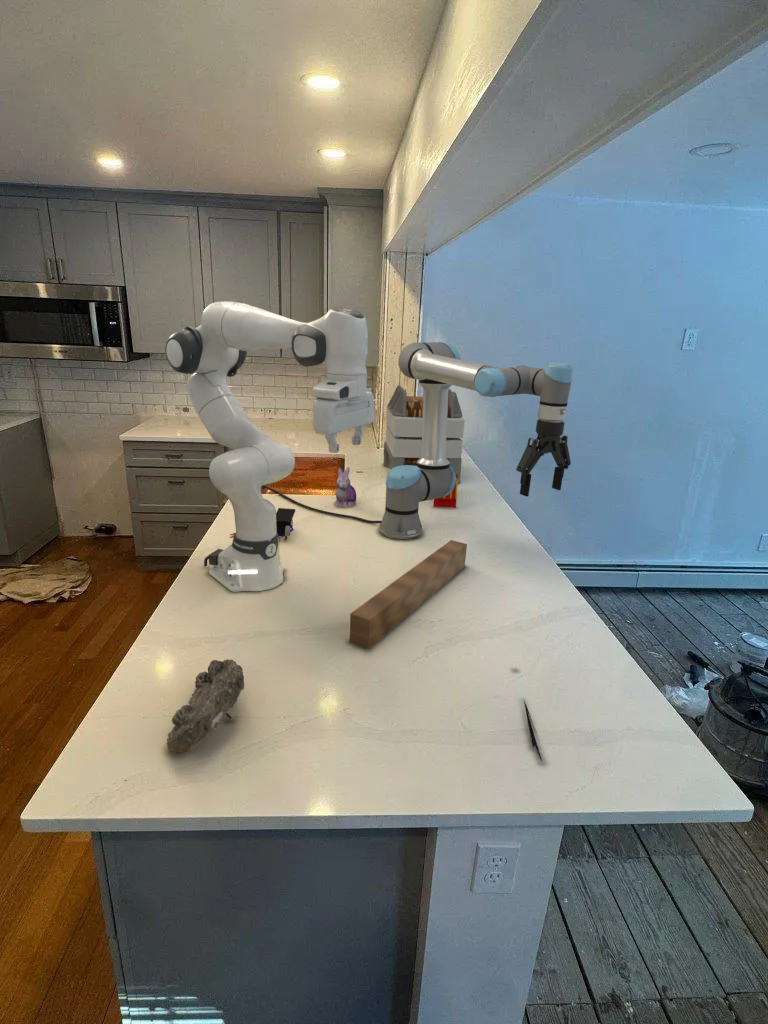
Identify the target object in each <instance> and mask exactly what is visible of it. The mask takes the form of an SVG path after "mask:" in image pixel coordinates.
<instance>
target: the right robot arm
mask: <svg viewBox="0 0 768 1024" xmlns="http://www.w3.org/2000/svg"><path fill="white" fill-rule="evenodd" d="M398 367H399V370H400V372H401V373H402V374H403V376H405V377H407V378H409V379H411V380H412V379H413V380H417V381H418V384H419V385H420V386H421V388H422V397H423V419H422V455H421V458H420V459H419V460H418V461H417V466H413V465H402V466H397V467H394V468H392V469H391V470H390V469H389V470H388V472H387V475H386V479H385V504H384V505H385V507H384V508H385V509H384V513H383V515H382V519H381V520H370V519H365V518H362V517H359V516H354V515H348V514H344V513H343V514H342V513H336V512H332V511H327V510H323V509H319V508H315V507H312V506H308V505H306V504H304V503H301V502H299V501H297V500H295V499H293V498H291V497H289V496H287V495H286V494H283V493H282V492H279V491H278V490H275V489H274V488H272V487H270V486H267V485H263V486H262V487H261V489H266V490H268V491H270V492H272V493H275V494H277V495H279V496H281V497H282V498H284V499H286V500H287V501H290V502H292V503H293V504H295V505H297V506H299V507H302V508H304V509H307V510H310V511H312V512H317V513H321V514H325V515H328V516H333V517H339V518H345V519H352V520H357V521H359V522H364V523H367V524H379V526H378V533H379V534H380V535H381V536H382V537H385V538H387V539H389V540H395V541H410V540H415V539H418V538H420V537H421V536H422V535H423V525H422V524H421V518H420V515H419V507H420V506H419V505H420V503H421V502H426V501H430V500H434V499H438V498H441V497H443V496H447V495H448V494H450V493H451V492H452V490H453V489H454V486H455V482H456V476H455V473H454V472H453V471H454V470H453V468H452V467H451V466H449V465H450V462H449V461H448V460H447V459H446V434H447V410H448V389H450V388H451V386H455V387H458V388H463V389H466V390H471V391H475V392H477V393H478V395H480V396H482V397H486V398H487V397H488V398H496V397H504V396H514V395H515V396H516V395H517V396H518V395H530V396H537V397H539V403H538V411H537V418H538V419H537V420H536V426H535V433H536V434H537V437H536V438H532V437H529V438H528V439H527V443H526V447H525V449H524V451H523V454H522V456H521V457H520V460H519V462H518V463H517V466H516V469H515V470H516V471H517V472H519V473H520V481H519V482H520V489H519V495H522V496H524V497H526V498H527V497H529V495H530V488H531V481H532V475H533V474H532V473H531V472H532V471H533V469H534V468H535V466H536V464H537V463H538V461H539V460H540V459H541V458H542V457H543V456H544V455H545V454H546V455H547V454H549V453H550V454H551V456H552V457H553V460H554V462H555V464H556V466H555V467H554V469H553V470H554V471H553V478H552V484H551V489H553V490H556V491H561V489H562V484H563V479H564V475H565V470H568V469H569V467H570V466H571V465H572V462H571V456H570V451H569V446H568V439H569V438H568V435H566V434H564V430H565V422H564V421H565V420H566V416H567V408H568V403H569V402H568V401H569V397H570V392H571V391H570V390H571V385H572V381H573V380H572V378H573V366H572V364H569V363H564V362H546V363H545V364H544V367H543V368H539V367H533V366H528V365H513V366H511V367H497V366H493V365H488V364H484V363H483V364H482V363H478V362H473V361H469V360H464V359H462V358H461V354H460V352H459V350H458V349H457V348H456V346H454V345H453V344H452V343H450V342H449V343H448V342H441V341H436V342H420V341H419V342H418V341H417V342H416V341H415V342H412V343H409V344H408V345H406V346H405V347H403V349H401V350H400V353H399V356H398Z"/></svg>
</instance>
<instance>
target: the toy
mask: <svg viewBox="0 0 768 1024" xmlns="http://www.w3.org/2000/svg"><path fill="white" fill-rule="evenodd" d="M455 476H456V482H455V486H454V489H453V490H452V492H451V493H450V494H448V495H447V496H443V497H441V498H438V499H433V508H452V509H453V508H454V509H455V508H457V499H458V486H459V485H458V484H459V483H458V475H457V474H455Z"/></svg>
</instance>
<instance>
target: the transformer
mask: <svg viewBox="0 0 768 1024" xmlns="http://www.w3.org/2000/svg"><path fill="white" fill-rule="evenodd" d="M407 394H408V393H407V390H406V389H404V388H403V387H402V385H399V384H398V385H397V386H396V388H395V390H394V392H393V394H392V395H391V398H390V400H389V402H388V404H387V405H386V413H385V414H386V415H385V423H386V428H385V438H384V442H383V466H384V467H388V468H389V470H391V469H392V468H394V467H397V466H402V465H404V466H406V465H413V466H417V461H418V460H419V459H420V458H421V455H422V419H423V396H415V395H414V396H413V395H412V396H411V395H407ZM464 429H465V419H464V418H463V411H462V408H461V405H460V402H459V398H458V395H457V392H455V391H453V390H452V389H451V388H449V389H448V410H447V434H446V459H447V460H448V461H449V462H450V465H449V466H451V467H452V468H453V470H454V471H453V472H454V473H455V474H457V475H458V484H459V483H461V472H462V461H463V460H462V453H463V442H464V441H463V440H462V439H463V438H464V431H465V430H464Z"/></svg>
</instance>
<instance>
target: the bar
mask: <svg viewBox="0 0 768 1024" xmlns="http://www.w3.org/2000/svg"><path fill="white" fill-rule="evenodd" d="M467 548H468V544H467V543H465V542H460V541H456V540H453V539H450V540H449V541H447V542H446V543H445V544H443V545H442V546H441V547H440V548H438V549H437V550H435V551H434V552H432V553H431V554H429V556H427V557H426V558H424V559H423V560H422V561H420V562H419V563H418V564H416V565H415V566H413V567H412V568H411V569H409V570H408V571H407V572H404V574H402V575H401V576H400V577H398V578H397V579H396V580H394V581H393V582H392V583H390V584H389V585H387V586H386V587H384V588H383V589H382V590H381V591H379V592H378V593H376V594H375V595H374V596H372V597H371V598H370V599H368V600H367V601H366V602H363V604H362V605H360V606H359V607H357V608H355V609H354V610H353V611H352V612H350V614H349V618H350V619H349V643H351V644H353V645H356V646H359V647H361V648H364V649H366V650H370V649H371V648H372V647H373V646H374V645H376V644H377V643H378V642H379V641H381V639H382V638H384V637H385V636H386V635H387V634H388V633H390V632H391V631H392V630H394V628H395V627H396V626H397V625H399V624H400V623H401V622H402V621H403V620H405V619H406V618H407V617H408V616H409V615H410V614H412V613H413V612H414V611H415V610H417V608H419V607H420V606H421V605H422V604H424V602H426V601H427V600H428V599H429V598H430V597H431V596H433V595H434V594H435V593H437V592H438V590H440V589H441V588H442V587H443V586H444V585H445V584H446V583H448V582H449V581H450V580H451V579H453V577H455V576H456V575H457V574H458V573H459V572H460V571H462V570H463V569H464V568H466V567H465V566H466V559H467Z"/></svg>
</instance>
